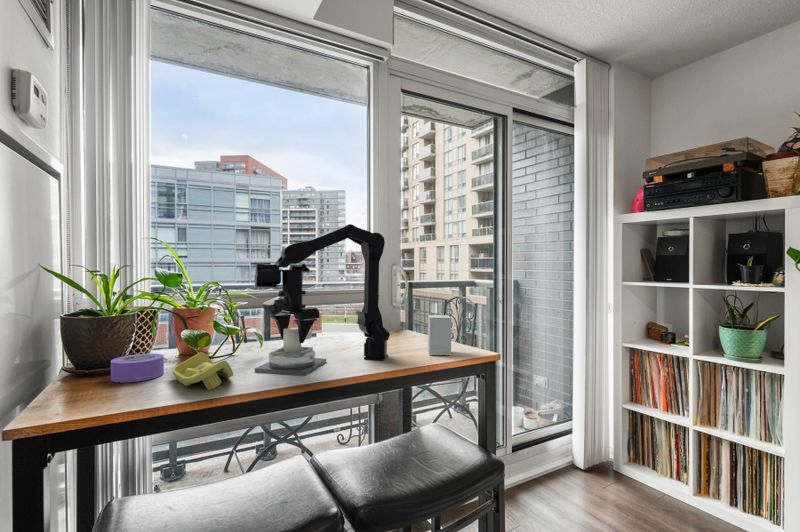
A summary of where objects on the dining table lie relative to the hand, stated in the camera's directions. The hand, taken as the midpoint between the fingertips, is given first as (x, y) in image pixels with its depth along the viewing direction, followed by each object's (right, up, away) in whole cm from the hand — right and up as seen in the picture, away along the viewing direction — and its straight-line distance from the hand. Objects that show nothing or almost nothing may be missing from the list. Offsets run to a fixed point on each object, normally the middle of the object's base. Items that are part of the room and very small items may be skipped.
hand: (292, 340), depth 118 cm
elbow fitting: (+1, -4, +1) cm, 4 cm away
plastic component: (-18, -8, -16) cm, 26 cm away
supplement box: (+45, -8, +19) cm, 49 cm away
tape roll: (-38, -8, -11) cm, 40 cm away
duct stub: (0, -8, 0) cm, 8 cm away
